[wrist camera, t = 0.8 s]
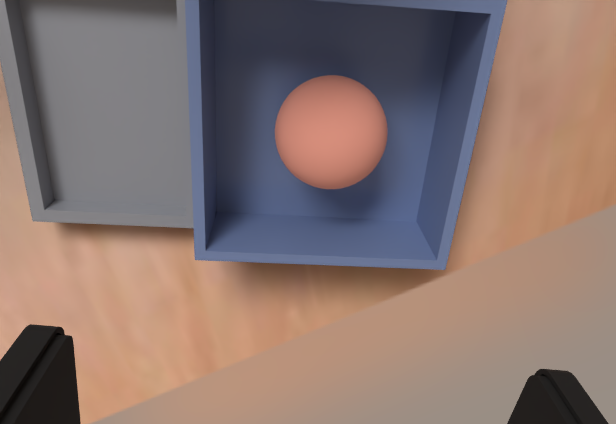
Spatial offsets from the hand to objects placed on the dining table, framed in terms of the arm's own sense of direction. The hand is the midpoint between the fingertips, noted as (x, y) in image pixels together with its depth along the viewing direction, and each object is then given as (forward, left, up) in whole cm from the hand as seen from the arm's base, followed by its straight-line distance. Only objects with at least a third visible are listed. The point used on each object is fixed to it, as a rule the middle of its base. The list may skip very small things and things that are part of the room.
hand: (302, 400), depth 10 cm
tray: (+10, 0, -21) cm, 24 cm away
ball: (-2, 0, -18) cm, 18 cm away
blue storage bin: (-2, 0, -21) cm, 21 cm away
